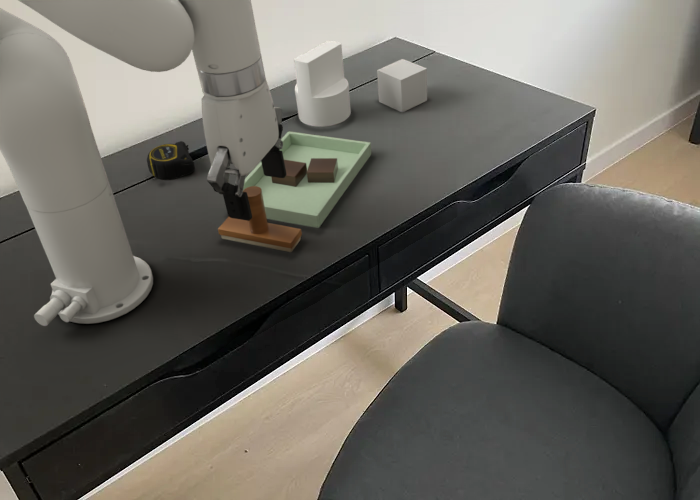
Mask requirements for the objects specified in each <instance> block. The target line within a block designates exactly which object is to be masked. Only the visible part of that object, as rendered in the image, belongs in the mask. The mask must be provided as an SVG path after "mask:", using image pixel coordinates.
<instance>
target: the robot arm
mask: <svg viewBox="0 0 700 500" xmlns="http://www.w3.org/2000/svg"><path fill="white" fill-rule="evenodd" d="M17 1H18V2H20V3H22V4H23V5H25V6H27V7H28V8H29V9H31V10H33V11H35V12H36V13H37V14H39V15H41V16H42V17H43V18H45V19H46V20H48V21H50V22H51V23H53V25H55V26H57V27H59V28H60V29H61V30H64V31H65V32H67V33H68V34H70V35H71V36H72V37H73V36H74V37H75V38H77V39H78V40H80V41H81V42H84V43H86V44H88V45H89V46H91V47H93V48H95V49H97V50H99V51H100V52H101V51H102V52H103V53H104V54H105V53H106V54H107V55H109V56H111V57H113V58H115V59H117V60H119V61H121V62H123V63H126V64H128V65H130V66H131V67H134V68H136V69H139V70H142V71H145V72H151V73H163V72H168V71H171V70H174V69H176V68H178V67H179V66H181V65H182V64H183V63H185V61H186V60H187V59H188V57H189V56H190V55H191V53H192V55H193V59H194V63H195V67H196V71H197V76H198V80H199V84H200V87H201V92H202V94H203V96H202V97H201V118H202V128H203V133H204V138H205V145H206V149H207V154H208V159H209V162H210V169H209V171H208V173H207V176H206V181H207V183H208V184H209V185H210V186H211V187H212V188H213V191H214V192H216V193H218V194H219V195H222V197H223V200H224V201H223V202H224V205H225V209H226V212H227V217H230V218H235V219H241V220H247V221H250V220H251V218H252V213H251V208H250V204H249V200H248V195H247V192H243V189H244V182H245V178H246V177H247V175H249V174H250V173H251V172H252V171H253V170H254V168H255V167H256V166H257V165H258V164H259V163H260V162H261V163H262V167H263V172H264V175H265V176H270V177H277V178H285V176H286V175H287V174H286V169H285V163H284V158H283V153H282V151H280V150H281V149H282V148H283V141H282V140H281V139H282V136H283V135H282V134H283V131H284V126H283V124H282V123H283V109H282V107H277V106H275V104H274V100H273V96H272V93H271V90H270V86H269V83H268V81H267V77H266V72H265V67H264V61H263V56H262V51H261V46H260V41H259V35H258V31H257V26H256V21H255V15H254V10H253V5H252V0H17ZM0 153H1V155H2V157H3V159H4V161H5V162H6V164H7V167H8V168H9V170H10V172H11V175H12V177H13V179H14V181H15V184H16V186H17V189H18V191H19V193H20V196H21V198H22V201H23V203H24V205H25V207H26V210H27V212H28V214H29V217H30V219H31V223H32V224H33V226H34V229H35V232H36V233H37V236H38V238H39V241H40V244H41V246H42V249H43V251H44V253H45V255H46V258H47V260H48V262H49V265H50V267H51V270H52V272H53V274H54V277H55V279H54V280H53V281H51V283H50V287H51V295H50V296H49V301H48V302H47V303H46V304H44V305H43V306H42V307H41V308H40V309H38V310H37V312H35V314H33V319H34V320H35V321H36V323H37V324H39V325H40V326H43V327H47V326H48V325H49V324H51V322H53V320H54V319H55V318H56V317H57V316H59V318H60V319H61V321H63V322H64V323H69V322H72V323H75V324H83V325H84V324H86V325H89V324H99V323H103V322H108V321H111V320H115V319H117V318H119V317H122V316H124V315H126V314H128V313H129V312H131V311H133V310H134V309H136V307H138V306H139V305H141V303H142V302H143V301H145V300H146V298H147V297H148V296H149V294H150V292H151V291H152V288H153V285H154V275H153V272H152V269H151V267H150V265H149V264H148V263H147V262H146V260H143V259H142V258H140V257H137V256H135V255H134V254H133V251H132V248H131V245H130V242H129V238H128V235H127V233H126V230H125V227H124V223H123V220H122V218H121V215H120V211H119V208H118V205H117V202H116V199H115V195H114V193H113V189H112V186H111V184H110V181H109V177H108V175H107V171H106V169H105V166H104V162H103V159H102V156H101V154H100V150H99V146H98V144H97V140H96V138H95V135H94V132H93V128H92V125H91V121H90V118H89V114H88V110H87V107H86V104H85V101H84V98H83V94H82V92H81V89H80V86H79V82H78V79H77V76H76V74H75V70H74V68H73V63H72V62H71V59H70V57H69V55H68V53H67V52H66V50H65V49H64V47H63V46H62V45H61V44H60V42H58V40H57V39H56V38H54V37H53V36H52V35H50V34H48V33H47V32H46V31H44V30H42V29H40V28H39V27H37V26H36V25H34V24H32V23H29V22H28V21H26V20H24V19H23V18H20V17H18V16H16V15H14V14H12V13H11V12H9V11H7V10H5V9H3V8H1V7H0ZM231 164H232V165H233V166H234V167H235V168H231ZM231 175H233V176H234V175H235V176H236V178H235V185H234V184H232V183H229V182H230V176H231Z"/></svg>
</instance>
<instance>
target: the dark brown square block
mask: <svg viewBox="0 0 700 500" xmlns="http://www.w3.org/2000/svg"><path fill="white" fill-rule="evenodd" d="M284 163H285V169H286V174H287V175H286V176H285V178H277V177H271V178H272V183H276V184H282V185H288V186H294V187H296V186H297V185H298V184H299V183H300V182H301V180H302V179H303V178H304V177H305V175H306V174H307V166H306V163H303V162H297V161H290V160H284Z"/></svg>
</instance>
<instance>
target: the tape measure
mask: <svg viewBox="0 0 700 500" xmlns="http://www.w3.org/2000/svg"><path fill="white" fill-rule="evenodd" d="M189 150H190V148H189V144H186V143H185V142H184V141H182V140H180V141H176V142H174V143H164V144H160V145H157V146H156V147H153V148H152V149H151V150H150V151H149V152H148V154H147V157H146V165H147V168H148V171H149V173H150V174H151V175H152V176H153V177H154V178H155V179H158V180H164V181H167V180H175V179H178V178H180V177H183V176H187V175H190V174H192V173H193V172H194V171H195V170H196V169H195V164H194V163H195V162H194V160H193V158H192V156H191V155H190V152H189Z"/></svg>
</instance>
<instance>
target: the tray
mask: <svg viewBox="0 0 700 500" xmlns="http://www.w3.org/2000/svg"><path fill="white" fill-rule="evenodd" d="M281 140H282V141H283V148H282V149H281V150H280V151H282V153H283V158H284V160H290V161H297V162H303V163H306V166H307V170H308V167H309V164H310V161H311V158H337V162H338V171H337V175H336V178H335V182H334V183H310V182H308V179H307V174H306V175H305V177H304V178H303V179H302V180H301V182H300V183H299V184H298V185H297V186H296V187H294V186H288V185H282V184H276V183H272V178H271V177H270V176H265V175H264V172H263V167H262V163H261V161H260V162H259V163H258V164H257V165H256V166H255V168H254V169H253V170H252V171H251V172H249V173H248V174H247V175H246V176H245V182H244V189H246V188H247V187H251V186H257V187H260V188H261V189H262V194H263V200H264V206H265V211H266V217H267V220H272V221H278V222H282V223H283V222H284V223H288V224H294V225H299V226H304V227H311V228H316V229H319V228H320V227H321V225H322V224H323V223H324V222H325V220H326V219H327V217H328V216H329V214H330V213H331V212H332V210H333V209H334V208H335V206H336V205H337V203H338V202H339V200H340V199H341V197H342V196H343V195H344V193H345V192H346V190H347V189H348V188H349V186H350V185H351V184H352V182H353V181H354V180H355V178H356V177H357V175H358V174H359V172H360V171H361V169H362V168H363V167H364V165H365V164H366V163H367V161H368V160H369V159H370V157H371V156H372V142H371V141H363V140H362V141H361V140H355V139H348V138H341V137H335V136H334V137H333V136H326V135H319V134H312V133H304V132H298V131H297V132H296V131H287V132H286V133H285V134H284V136H282V137H281ZM244 189H243V190H244Z"/></svg>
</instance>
